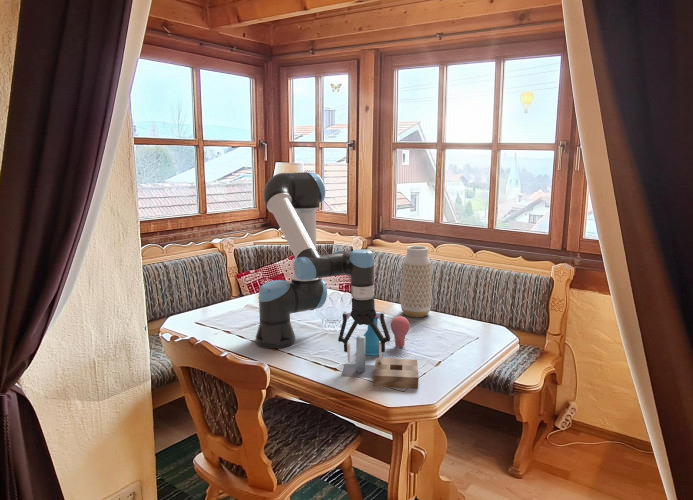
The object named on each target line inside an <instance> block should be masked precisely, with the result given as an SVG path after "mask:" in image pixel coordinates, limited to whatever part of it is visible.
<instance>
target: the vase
mask: <svg viewBox="0 0 693 500" xmlns="http://www.w3.org/2000/svg"><path fill="white" fill-rule="evenodd" d="M401 276H402V278H401V291H400V308H401V311H402V312H403V314H404V315H405V316H406V317H409V318H424V317H426V316H427V315H428V314H429V313H430V311H431V308H432V261H431V259H430V257H429V248H428V247H427V246H424V245H410V246H407V249H406V256H405V258H404V260H403V265H402V275H401Z"/></svg>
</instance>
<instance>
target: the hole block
mask: <svg viewBox="0 0 693 500" xmlns="http://www.w3.org/2000/svg"><path fill="white" fill-rule="evenodd" d="M418 364H419V363H418V359H411V358H410V359H405V358H389V357H388V358H386V357H384V358H383V357H382V363H379V357H375V362H374V365H375V369H374V378H373V387H380V388H381V387H382V388H400V389H401V388H402V389H403V388H404V389H419V367H418V366H419V365H418Z"/></svg>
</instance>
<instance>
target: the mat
mask: <svg viewBox="0 0 693 500" xmlns="http://www.w3.org/2000/svg"><path fill="white" fill-rule="evenodd" d="M374 369H375V364H365V372H362V373H359V372H357V371H356V363H355V364H352V363H344V364H343V367H342V371H341V374H340V375H341V377H347V378H364V379H365V378H367V379H369V378H370V379H374Z"/></svg>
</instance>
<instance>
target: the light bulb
mask: <svg viewBox="0 0 693 500" xmlns="http://www.w3.org/2000/svg"><path fill="white" fill-rule="evenodd" d="M410 327H411V325H410V322H409V320H408V319H407V318H406V317H405V316H402V315H398V316H395V317H394V318H393V319H392V320H391V322H390V329H391V331H392V334H393V336H394V343H395V344H394V345H395V347H398V348H402V347H405V339H406V335H407V334H408V332H409V331H410Z"/></svg>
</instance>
